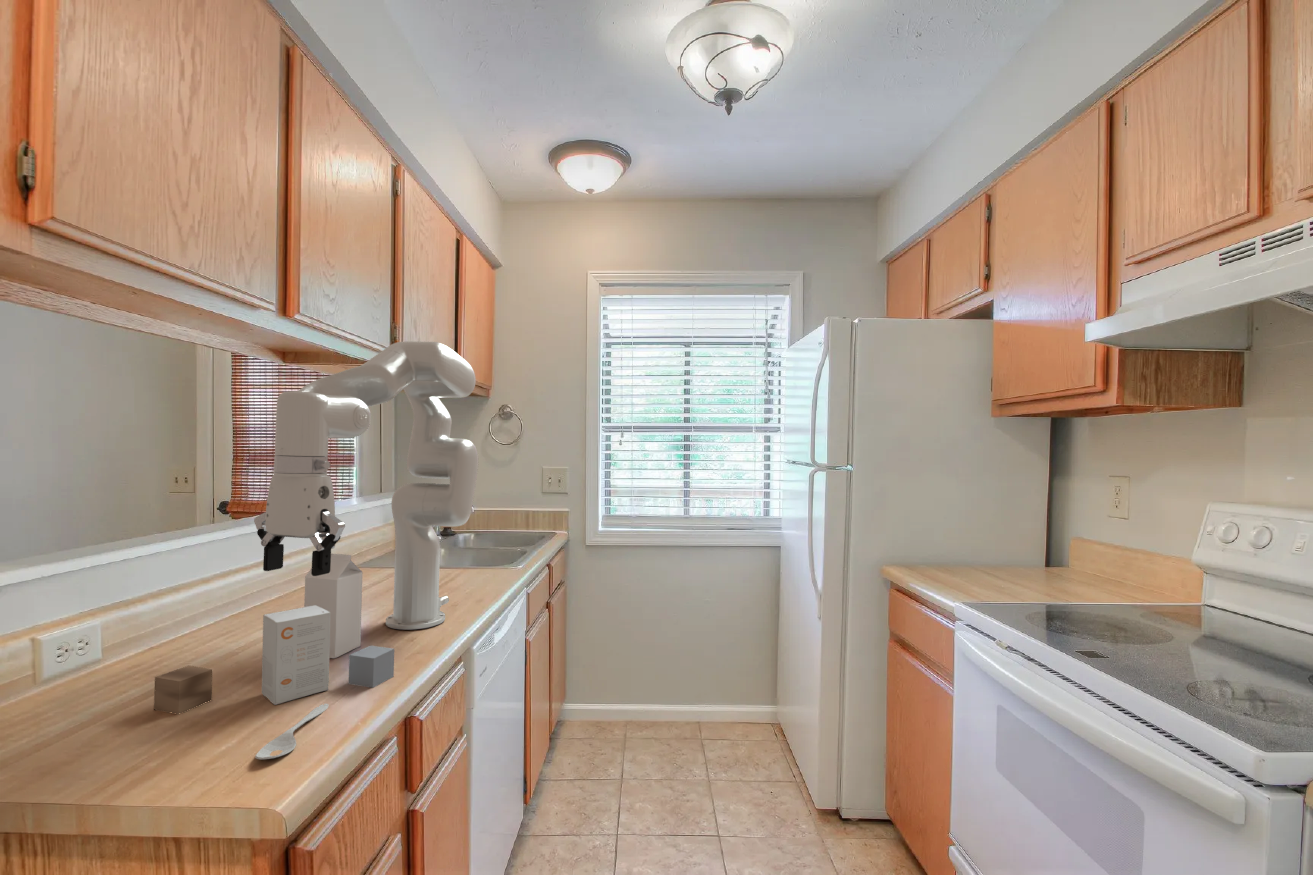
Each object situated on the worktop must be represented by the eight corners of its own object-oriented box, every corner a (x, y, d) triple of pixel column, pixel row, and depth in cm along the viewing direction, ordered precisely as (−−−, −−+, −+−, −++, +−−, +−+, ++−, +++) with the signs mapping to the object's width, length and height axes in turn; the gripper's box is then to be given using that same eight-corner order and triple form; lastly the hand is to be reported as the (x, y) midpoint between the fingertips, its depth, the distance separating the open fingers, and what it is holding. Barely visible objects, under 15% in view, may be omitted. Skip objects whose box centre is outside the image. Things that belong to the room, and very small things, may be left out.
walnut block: (187, 696, 95) (188, 665, 95) (211, 701, 94) (212, 669, 94) (153, 710, 90) (154, 677, 90) (178, 714, 89) (179, 681, 89)
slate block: (369, 673, 106) (370, 645, 106) (393, 677, 105) (394, 648, 105) (348, 684, 101) (349, 654, 101) (373, 688, 100) (373, 658, 100)
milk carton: (334, 659, 112) (337, 558, 112) (302, 655, 114) (305, 556, 114) (360, 646, 119) (363, 551, 119) (329, 643, 121) (332, 549, 121)
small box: (314, 679, 103) (316, 604, 103) (329, 690, 99) (331, 611, 99) (259, 694, 96) (262, 613, 97) (273, 706, 92) (276, 622, 92)
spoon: (244, 770, 75) (244, 757, 75) (318, 700, 96) (319, 689, 96) (278, 769, 76) (279, 756, 76) (345, 699, 96) (346, 689, 96)
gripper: (362, 468, 99) (357, 572, 99) (279, 465, 104) (274, 564, 103) (325, 469, 92) (321, 581, 91) (238, 465, 96) (233, 572, 96)
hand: (296, 572), depth 97 cm, fingers open, 9 cm apart
